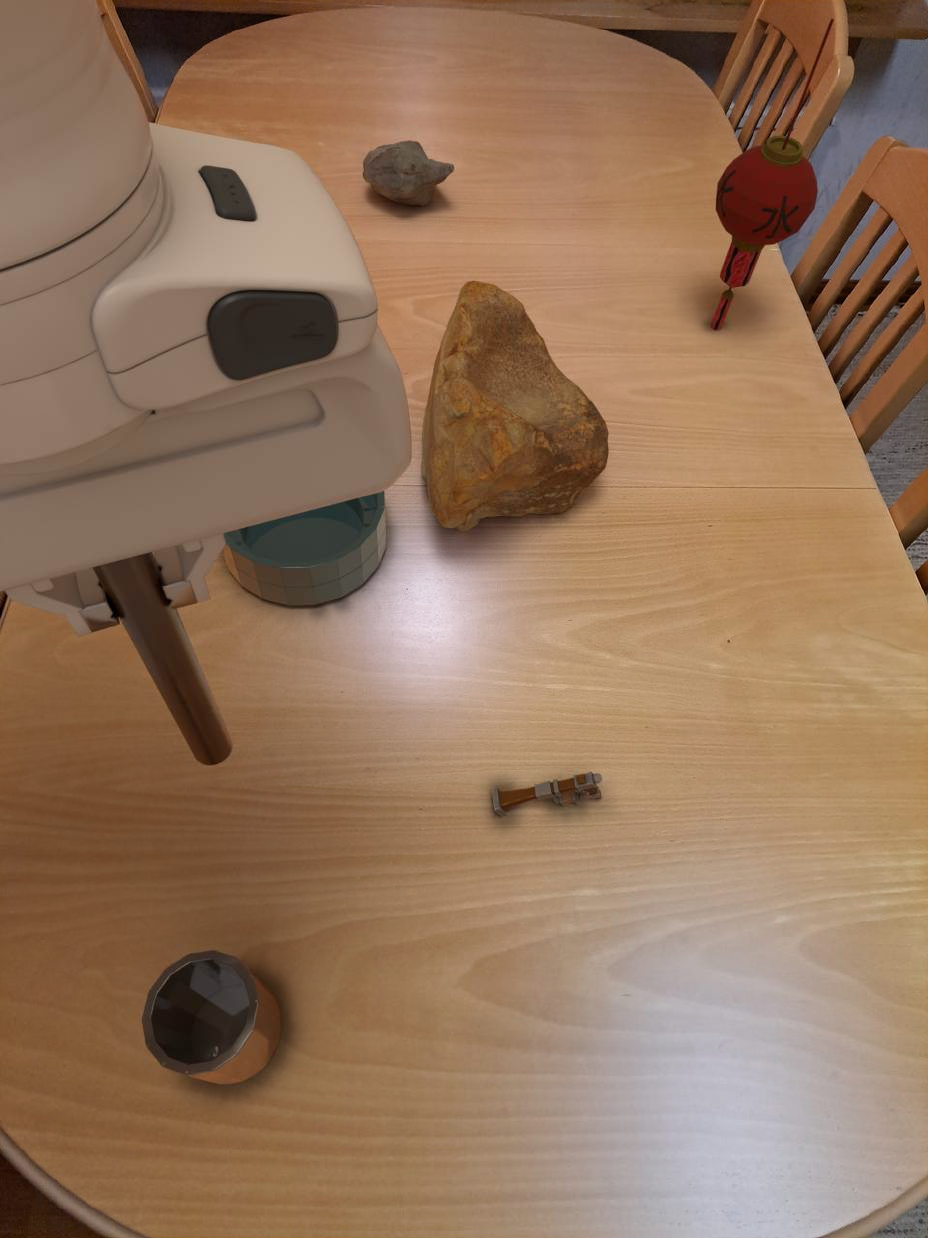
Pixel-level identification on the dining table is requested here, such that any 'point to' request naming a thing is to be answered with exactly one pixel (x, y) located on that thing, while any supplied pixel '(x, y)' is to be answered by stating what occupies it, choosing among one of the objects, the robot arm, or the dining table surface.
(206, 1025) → the holder
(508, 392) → the orange rock
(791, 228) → the lantern
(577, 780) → the wooden lamp post
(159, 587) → the stick
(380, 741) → the dining table surface
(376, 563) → the bowl
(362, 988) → the dining table surface
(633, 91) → the dining table surface
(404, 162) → the fossil
